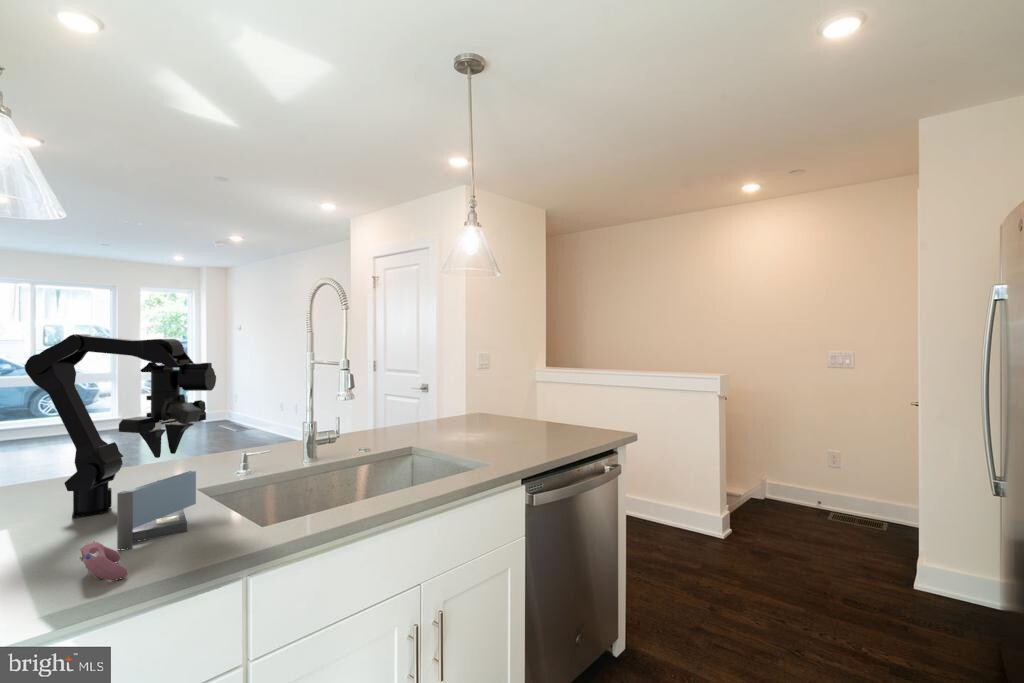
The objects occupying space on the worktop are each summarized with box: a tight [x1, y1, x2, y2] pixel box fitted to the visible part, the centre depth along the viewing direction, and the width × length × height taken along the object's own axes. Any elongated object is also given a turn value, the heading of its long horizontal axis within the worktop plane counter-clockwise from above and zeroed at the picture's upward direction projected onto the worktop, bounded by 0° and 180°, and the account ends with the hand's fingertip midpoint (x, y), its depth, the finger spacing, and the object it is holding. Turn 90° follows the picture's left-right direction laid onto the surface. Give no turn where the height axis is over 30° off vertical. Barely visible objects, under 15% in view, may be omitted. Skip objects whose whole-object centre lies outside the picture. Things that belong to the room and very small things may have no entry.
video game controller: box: [78, 540, 128, 581], centre depth 87 cm, size 10×5×7 cm, turn 45°
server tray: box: [133, 509, 188, 542], centre depth 111 cm, size 11×18×2 cm, turn 37°
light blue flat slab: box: [116, 470, 197, 551], centre depth 106 cm, size 17×2×11 cm, turn 167°
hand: (165, 455), depth 120 cm, fingers open, 4 cm apart
